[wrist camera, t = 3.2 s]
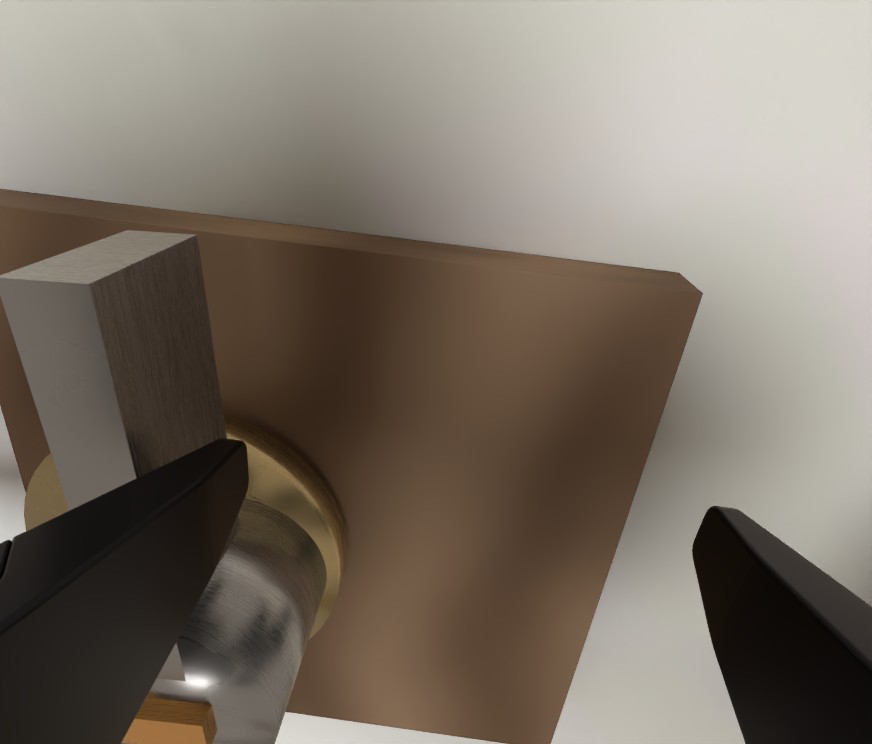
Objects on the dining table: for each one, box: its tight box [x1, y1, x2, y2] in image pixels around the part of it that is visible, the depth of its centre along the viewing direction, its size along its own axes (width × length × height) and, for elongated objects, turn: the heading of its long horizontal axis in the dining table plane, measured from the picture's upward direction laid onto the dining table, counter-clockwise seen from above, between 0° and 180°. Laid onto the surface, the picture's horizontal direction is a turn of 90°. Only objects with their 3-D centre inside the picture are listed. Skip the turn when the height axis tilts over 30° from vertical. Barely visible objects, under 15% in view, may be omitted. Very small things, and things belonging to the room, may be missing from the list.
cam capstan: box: [0, 230, 347, 744], centre depth 13 cm, size 11×17×5 cm, turn 177°
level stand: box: [0, 189, 703, 744], centre depth 15 cm, size 16×16×3 cm
